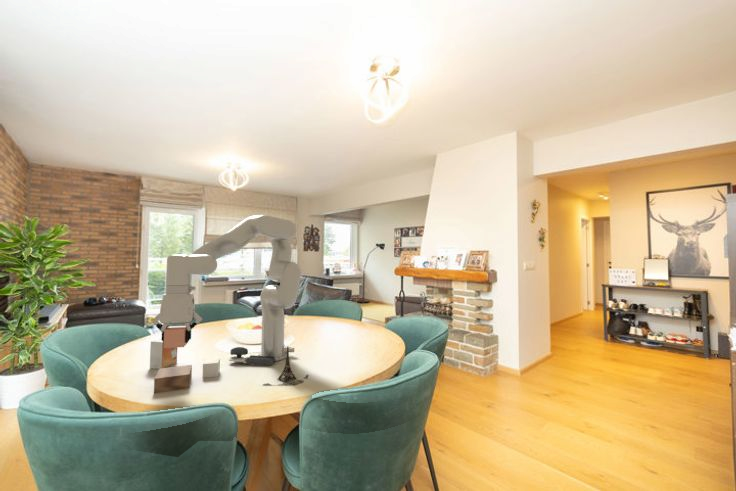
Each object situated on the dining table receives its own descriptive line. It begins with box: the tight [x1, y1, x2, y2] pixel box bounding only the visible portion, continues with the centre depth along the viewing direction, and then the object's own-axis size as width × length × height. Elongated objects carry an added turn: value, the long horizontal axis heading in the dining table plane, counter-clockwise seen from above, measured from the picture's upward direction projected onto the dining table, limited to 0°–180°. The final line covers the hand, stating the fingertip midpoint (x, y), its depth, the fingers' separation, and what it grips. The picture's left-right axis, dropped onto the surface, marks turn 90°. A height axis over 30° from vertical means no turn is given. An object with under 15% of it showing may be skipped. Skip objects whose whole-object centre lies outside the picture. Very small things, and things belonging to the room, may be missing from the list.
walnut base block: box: [153, 364, 193, 394], centre depth 110 cm, size 10×10×5 cm
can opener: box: [228, 346, 276, 367], centre depth 133 cm, size 19×5×6 cm, turn 85°
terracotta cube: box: [164, 325, 189, 348], centre depth 111 cm, size 6×6×6 cm
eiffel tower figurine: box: [262, 346, 309, 387], centre depth 116 cm, size 15×10×13 cm
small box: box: [149, 338, 178, 370], centre depth 129 cm, size 8×6×10 cm
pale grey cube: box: [202, 358, 221, 378], centre depth 121 cm, size 5×5×5 cm
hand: (176, 341), depth 111 cm, fingers closed on terracotta cube, 6 cm apart
